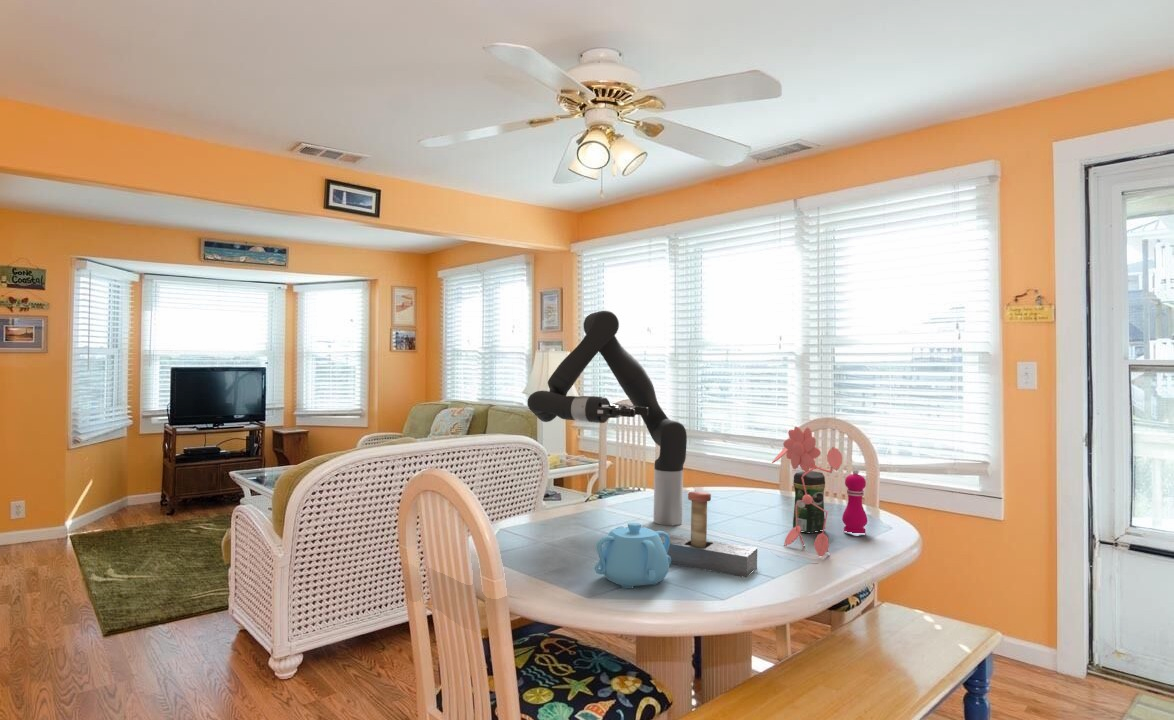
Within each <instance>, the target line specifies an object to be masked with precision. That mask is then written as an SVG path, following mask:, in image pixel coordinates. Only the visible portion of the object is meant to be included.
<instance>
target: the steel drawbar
mask: <svg viewBox="0 0 1174 720" xmlns="http://www.w3.org/2000/svg"><path fill="white" fill-rule="evenodd" d="M667 534H668V535H669V537H670V546H669V549H668V552H667V555H669V556H670V558H671V564H672V565H677V566H683V567H688V568H692V569H698V568H699V569H700V570H704V569H706V570H705V571H709V570H711V571H710V572H714V571H716V572H715V573H720V572H721V574H725V573H726V574H727V575H733V576H736V575H737V577H742V576H743V578H748V577H749V576H750V575H751V574H752V573H753V572H754V571H755V570H756V569H757V568H758V547H753V546H747V545H739V544H734V543H727V542H721V541H715V540H714V541H713V540H709V539H706V548H702V547H696V546H691V536H690V537H689V536H684V535H683V536H682V535H677V534H671V533H667ZM659 536H660V538H661V540H662V543H663V545H664V542H665V537H664V536H663V535H659ZM671 564H670V565H671ZM753 570H754V571H753ZM752 571H753V572H752ZM751 572H752V573H751ZM750 573H751V574H750ZM749 574H750V575H749ZM748 575H749V576H748ZM747 576H748V577H747Z"/></svg>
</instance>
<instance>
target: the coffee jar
mask: <svg viewBox="0 0 1174 720" xmlns="http://www.w3.org/2000/svg"><path fill="white" fill-rule="evenodd" d="M804 473H806V472H805V471H800V472H796V473H794V475H793V483H792V485H793V487H794V505H793V517H792V518H793V519H792V529H793V528H794V527H796V503H798V502H800V501H801V500H802V498H803V496H804V495H806V494H805V490H804V487H803V483H802V479H801V477H803V479H804V484H805V488H806V493H807V495H810V496H811V497H812V499H813V501H812V503H814V504H815V505H817V506H819V507H820V508H822V509H824V510H825V503H824V502H825V501H824V494H825V493H824V492H825V488H826V478H825V477H826V476H825V475H824V473H823V472H819V471H814V470H812V471H811V472H809V473H808V474H806V475H805V476H802V475H803V474H804ZM815 505H813V504H805V503H804V502H803V501H802V502H800V503H799V504H797V526H800V527H801V531H805V532H804V533H806V532H815V531H820V530H823V526H824V521H825V516H826V515H825V512H824V511H823V510H821V509H820V508H818V507H816V506H815Z"/></svg>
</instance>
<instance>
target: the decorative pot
mask: <svg viewBox="0 0 1174 720" xmlns="http://www.w3.org/2000/svg"><path fill="white" fill-rule="evenodd" d="M668 534H669V533H667V532H665V531H663V530H656V531H655V530H653V529H651V528H648V527H642V524H641V523H639V522H629V523H627V527H625V526H617V527H615V528H613V529H611V530H610V531H609V533H608V535H604V536H602V537H600V538H599V540H598V541H597V543H596V552H597V555H598V556H597V557H598V559H599V561H598V562H596V563H595V565H594V572H595V573H597V574H599V575H603V576H604V577H605V578H606V579H608V581H610V582H612V583H614V584H616V585H619V586H620V585H621V588H622V587H624V588H623V589H625V588H631V589H633V588H634V586H657V585H658V583H659V582H662V581H663V580H664V579H665V578H666V576H667V574H668V573H669V567H670V565H671V558H670V556H669V555H667V552H668V549H669V546H670V537H669V535H668ZM659 535H663V536H664V537H665V542H664V545H663V543H662V540H661V538H660V536H659ZM632 587H633V588H632Z"/></svg>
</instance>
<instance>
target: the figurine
mask: <svg viewBox="0 0 1174 720" xmlns="http://www.w3.org/2000/svg"><path fill="white" fill-rule="evenodd" d="M787 433H788V437H789V438H787V439H785V441H784V442H783V443H782V444H783V445H782V446H783V447H784V449H782V450H781V451H780V452H779V453H778V454H777V456H775V457H774V459H773V460H772V462H771V464H774V463H775V462H777V461H778V460H780V459H781V458H782V457H784V456H785V455H786V458H787V459H789V460H790V464H791V467H792V469H793V470H796V469H798V468H799V466H800V468H801V470H802V471H803V472H806V473H804V474H803V475H802V476H805V475H806V474H808V473H809V472H811V471H814V470H820V471H823V472H827V473H830V474H832V473H833V470H835V471H839V469H840V467H841V466H842V464H843V456H842V452H841V451H840V450H839V449H838V448H836V447H835V446H831V449H829V450H828V451H827V455H826V460H827V463H828V465H829V466H830V470H829V469H826V468H822V467H820V466H818V465H817V464H816V461H815V460H814V459H817V458H818V457H820V456H821V453H822V452H821V450H820V449H819V448H818V447H816V438H815V437H813V434H812V430H811V428H810V427H805V429H804V430H803V431H802V429H801V428H800V427H798V426H795V427H794V429H789V430H788V431H787ZM801 479H802V483H803V487H804V490H805V494H806V495H804V496H803V498H802V500H801V501H800V502H802V501H803V502H804V503H805V504H813V505H815V504H814V503H812V501H813V499H812V497H811V496H810V495H807V493H806V488H805V484H804V479H803V477H801ZM800 502H798V503H796V527H794V528H793V527H792V528H791V530H790V531H789V532H788V533H787V535H786V537H785V540H784V545H783V547H787V546H789V545H791V544H792V543H794V542H795V541H796V540H797V539H798V538H799V539H800V541H801V545H802V546H803V545H804V544H805V542H804V540H803V536H802V532H801V527H800V526H797V504H799V503H800ZM815 506H816V507H818V508H820V507H819V506H817V505H815ZM820 509H821V510H823V511H824V513H825V515H824V516H825V521H824V526H823V531H821V533H819V534H817V536H816V538H815V540H814V544H813V546H814V549H815V551H816V554H817V555H818V556H822V557H823V556H824V555H825V554H826V553H827V552H829V553H830V551H829V547H830V542H829V539H828V536H827V535H826V534H825V530H826V523H827V518H828V511H827V510H826V509H825V508H824V509H822V508H820ZM824 529H825V530H824Z"/></svg>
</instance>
